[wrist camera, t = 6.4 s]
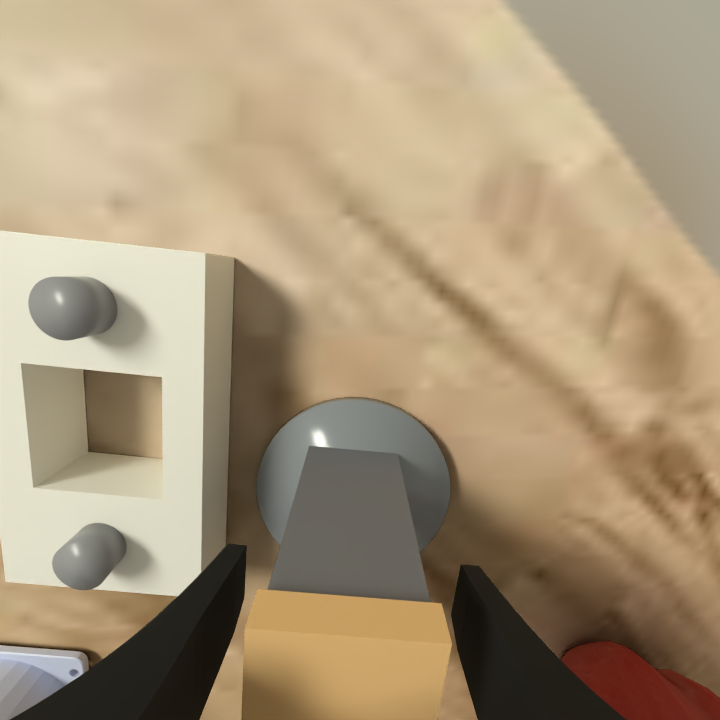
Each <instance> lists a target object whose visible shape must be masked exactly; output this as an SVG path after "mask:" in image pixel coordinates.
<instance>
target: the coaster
mask: <svg viewBox="0 0 720 720" xmlns="http://www.w3.org/2000/svg"><path fill="white" fill-rule="evenodd" d="M309 446H318V447H329V448H341V449H352V450H363V451H374V452H386V453H397V454H398V457H399V462H400V466H401V471H402V475H403V480H404V484H405V489H406V493H407V498H408V503H409V507H410V512H411V516H412V521H413V525H414V530H415V534H416V539H417V543H418V548H419V552H421V551H422V550H423V549H424V548H425V547H426V546H427V545H428V544H429V543H430V541H431V540H432V539H433V538H434V536H435V535H436V534H437V532H438V530H439V529H440V527H441V525H442V523H443V521H444V518H445V516H446V514H447V510H448V506H449V501H450V492H451V490H450V477H449V471H448V467H447V464H446V461H445V458H444V456H443V454H442V452H441V450H440V448H439V446H438V444H437V442H436V440H435V439H434V437H433V436H432V435H431V433H430V432H429V431H428V430H427V429H426V427H425V426H424V425H423V424H422V423H421V422H420V421H418V420H417V419H416V418H415V417H413V416H412V415H411V414H409V413H407V412H406V411H404V410H403V409H401V408H399V407H396V406H394V405H392V404H390V403H387V402H383V401H380V400H376V399H370V398H364V397H345V398H336V399H331V400H327V401H323V402H320V403H318V404H315V405H312V406H310V407H308V408H306V409H304V410H302V411H301V412H299V413H298V414H296V415H295V416H294V417H292V418H291V419H290V420H289V421H287V422H286V423H285V424H284V425H283V426H282V427H281V428H280V430H279V431H278V432H277V433H276V434H275V436H274V437H273V439H272V440H271V442H270V444H269V445H268V447H267V449H266V451H265V453H264V455H263V458H262V460H261V463H260V466H259V470H258V474H257V482H256V496H257V502H258V508H259V511H260V514H261V517H262V519H263V521H264V523H265V526H266V528H267V529H268V531H269V532H270V534H271V535H272V537H273V538H274V539H275V540H276V542H277V543H278V544H279V545H281V542H282V538H283V535H284V531H285V528H286V524H287V521H288V517H289V514H290V510H291V507H292V504H293V500H294V497H295V493H296V490H297V486H298V483H299V479H300V476H301V472H302V469H303V465H304V462H305V458H306V455H307V452H308V448H309Z"/></svg>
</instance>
